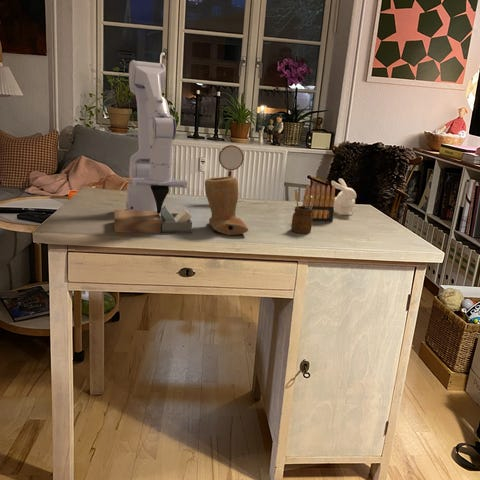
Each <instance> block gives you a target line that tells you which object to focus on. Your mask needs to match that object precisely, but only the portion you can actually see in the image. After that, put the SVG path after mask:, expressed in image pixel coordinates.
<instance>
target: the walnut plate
mask: <svg viewBox="0 0 480 480" xmlns="http://www.w3.org/2000/svg"><path fill="white" fill-rule="evenodd" d="M113 212H114V213H113V217H114V218H113V224H114V225H113V227H114V233H138V234H139V233H140V234H141V233H142V234H143V233H145V234H146V233H149V234H150V233H152V234H161V233H162V232H161V218H160V216H161V214H160V215H159V214H158V213H157V211H136V210H127V209H126V210H125V209H114V211H113Z"/></svg>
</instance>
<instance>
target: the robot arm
mask: <svg viewBox="0 0 480 480" xmlns="http://www.w3.org/2000/svg"><path fill="white" fill-rule="evenodd" d="M166 73H167V70H166V66H165V64H164V63H163V62H160V63H159V62H149V61H139V60H134V59H132V60H131V61H130V62H129V66H128V82H129V83H128V85H129V86H128V87H129V91H130V92H131V93H132V94H133V95H135V100H136V106H137V107H136V109H137V138H138V140H137V141H138V142H137V143H138V151H136V152H135V153H133V154H132V155H131V156H130V157H129V167H128V174H129V175H128V176H129V177H128V178H129V180H130V181H131V183H129V182H128V183H127V187H126V191H127V192H126V202H125V208H126V210H136V211H157V213H158V214H159V215H160V216H161V213H160V212H161V208H162V207H163V204H164V202H165V199H166V197H167V195H168V194H169V192H170V188H181V189H188V181H187V179H175V178H172V161H173V145H174V144H173V141H174V140H175V139H176V136H177V121H176V118H175V117H174V116H173V115H171V113H170V109H169V108H170V107H169V104H168V100H167V99H166V98H165V97H163V95H162V90H163V87H164V85H165V82H166V78H167V77H166V76H167V75H166Z"/></svg>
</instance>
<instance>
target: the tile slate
mask: <svg viewBox="0 0 480 480" xmlns="http://www.w3.org/2000/svg"><path fill="white" fill-rule="evenodd" d="M171 213H172V212H170V210H169V209H168V207H167V206H166V205H164V206H162V208H161V212H160V215H161V214H162V216H163V217H164V218H165V220H166V221H167V222H176V221H175V219H174V217H173V216H172V214H171Z"/></svg>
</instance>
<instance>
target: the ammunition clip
mask: <svg viewBox="0 0 480 480" xmlns="http://www.w3.org/2000/svg"><path fill="white" fill-rule="evenodd" d="M330 187H331V186H330V185H329V184H328V185H327V187H325V184H323V185H322V186H321V188H320V184H318V185H317V186H316V190H315V184H314V183H313V184H312V185H311V187H310V184H309V183H307V184H306V187H305V191H304V196H303V202H302V205H301V206H305V204H306V207H309V208H311V207H312V217H313V220H312V223H333V221H334V213H335V212H334V210H335V208H334V200H335V197H336V196H335V195H336V194H335V193H336V188H335V186H334V185H333V186H332V187H331V188H330ZM310 188H311V189H310ZM320 189H321V190H320ZM308 196H309V197H308ZM312 196H313V197H314V198H312ZM306 200H307V201H306ZM311 201H312V203H311ZM313 202H314V203H313ZM307 204H308V205H307ZM310 204H311V206H310Z"/></svg>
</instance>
